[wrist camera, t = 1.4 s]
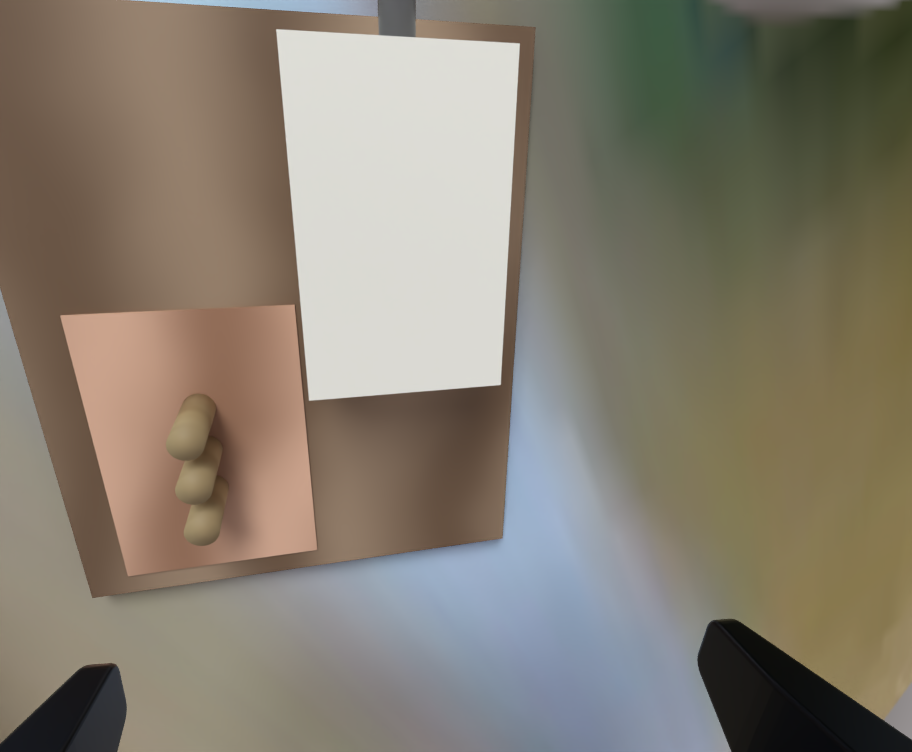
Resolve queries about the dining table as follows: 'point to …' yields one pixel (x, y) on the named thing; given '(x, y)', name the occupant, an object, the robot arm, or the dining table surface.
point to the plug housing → (399, 204)
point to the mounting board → (209, 306)
